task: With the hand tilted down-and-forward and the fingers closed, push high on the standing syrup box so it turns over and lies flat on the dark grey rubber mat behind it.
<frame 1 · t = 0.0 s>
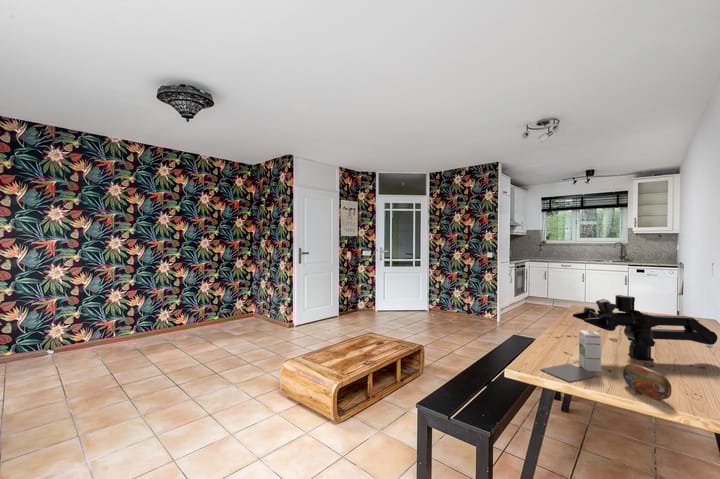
hand: (578, 317, 146), 17 cm above the table, tool horizontal, fingers open, 9 cm apart
syrup box: (589, 369, 131), on the table
tin: (646, 394, 110), on the table
mat: (568, 372, 126), on the table
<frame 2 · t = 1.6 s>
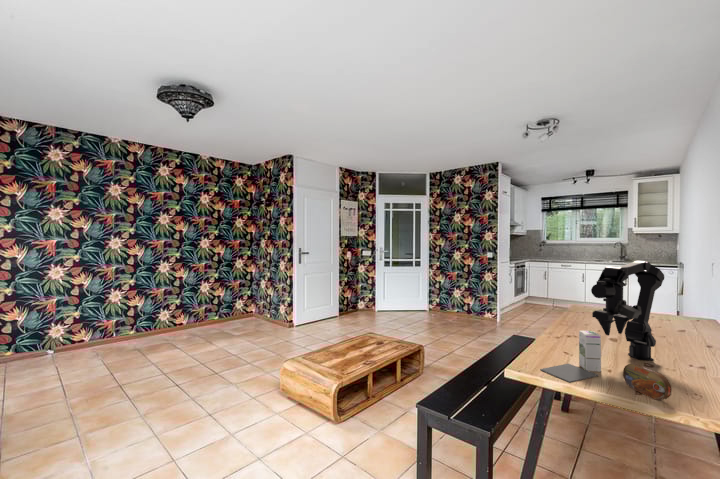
hand: (613, 334, 136), 12 cm above the table, tool pointing down, fingers open, 8 cm apart
nothing on the table moved.
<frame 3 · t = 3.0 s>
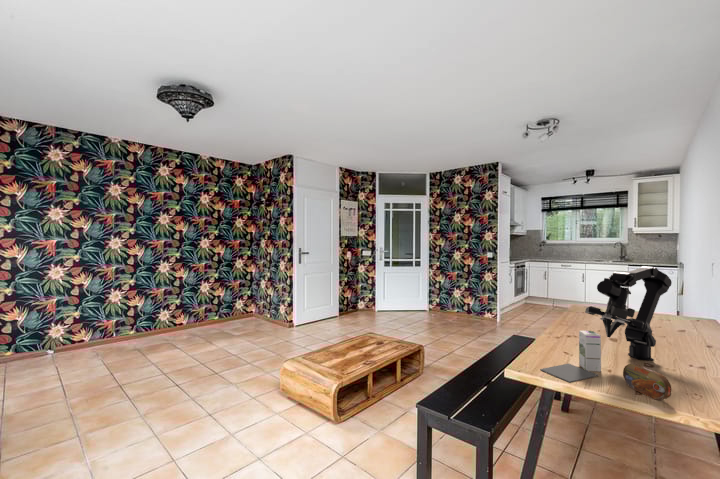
hand: (608, 337, 135), 11 cm above the table, tool tilted 20°, fingers closed
nothing on the table moved.
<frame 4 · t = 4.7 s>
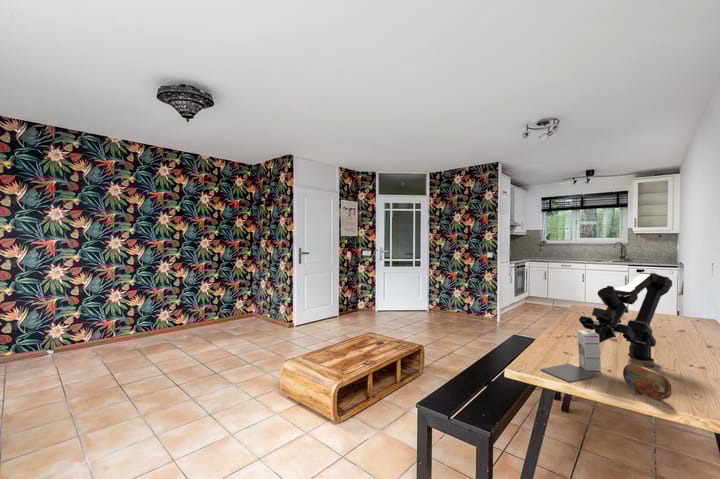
hand: (595, 343, 132), 10 cm above the table, tool tilted 45°, fingers closed
syrup box: (589, 368, 131), on the table, touching gripper
everything else where it was.
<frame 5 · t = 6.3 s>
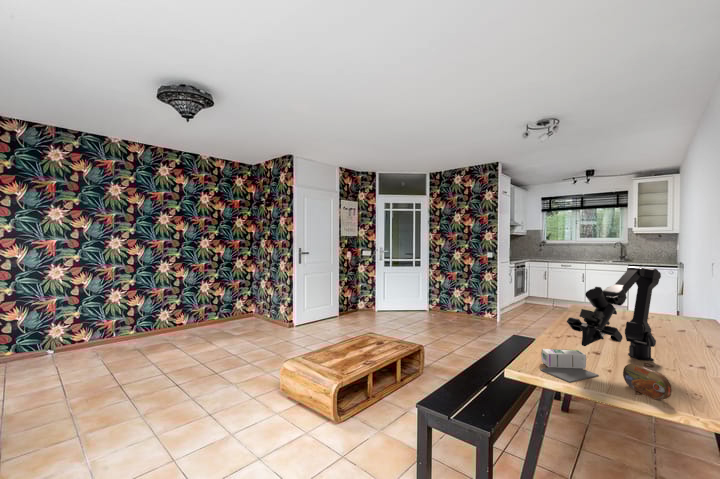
hand: (583, 345, 129), 10 cm above the table, tool tilted 45°, fingers closed
syrup box: (582, 359, 132), point 3 cm above the table, touching mat
everything else where it was.
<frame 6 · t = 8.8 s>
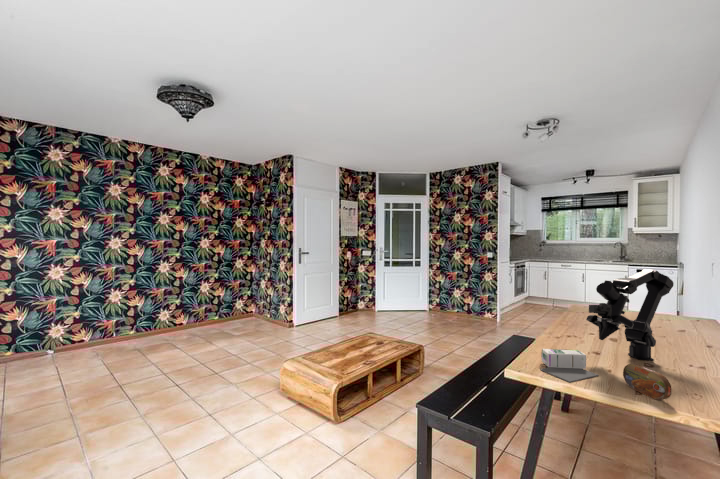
hand: (600, 339, 134), 11 cm above the table, tool tilted 35°, fingers closed
nothing on the table moved.
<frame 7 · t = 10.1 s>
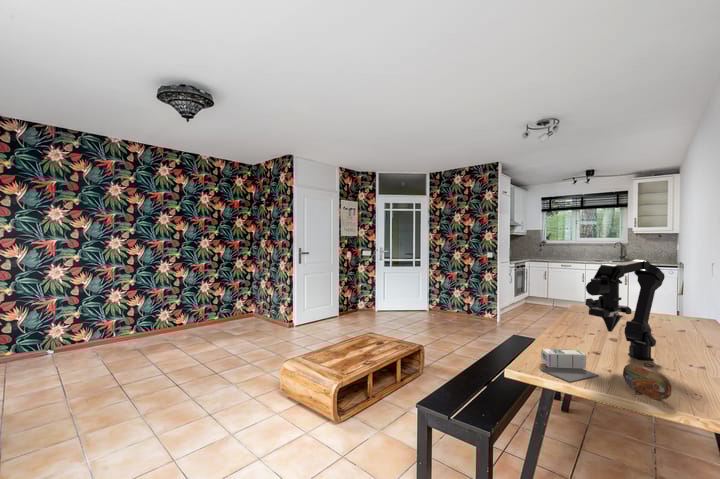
hand: (609, 331, 137), 13 cm above the table, tool pointing down, fingers closed
nothing on the table moved.
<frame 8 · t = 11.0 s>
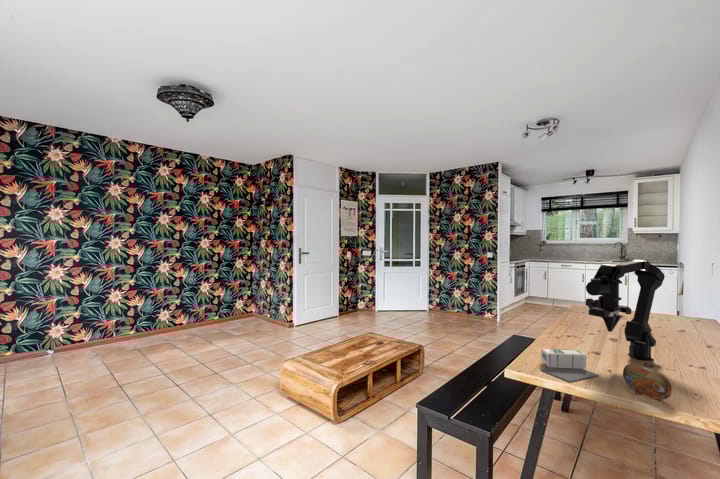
hand: (609, 331, 137), 13 cm above the table, tool pointing down, fingers closed
nothing on the table moved.
at the end: syrup box tilted 89°; syrup box inside the target area (8.5 cm from its centre), point 3.2 cm above the table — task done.
